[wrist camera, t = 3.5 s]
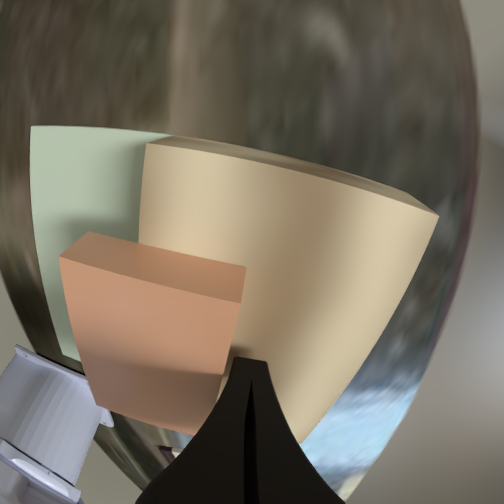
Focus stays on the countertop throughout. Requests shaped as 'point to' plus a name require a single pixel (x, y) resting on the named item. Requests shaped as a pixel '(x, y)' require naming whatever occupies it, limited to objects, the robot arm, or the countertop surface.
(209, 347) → the tile
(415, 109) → the countertop surface
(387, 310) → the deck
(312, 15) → the countertop surface
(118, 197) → the mat
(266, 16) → the countertop surface
